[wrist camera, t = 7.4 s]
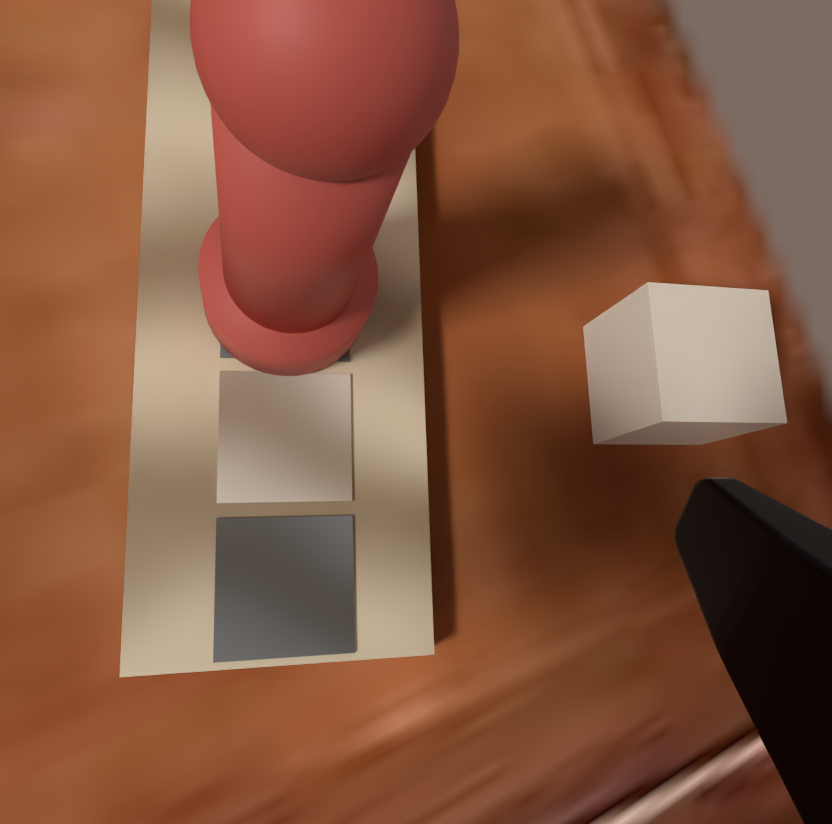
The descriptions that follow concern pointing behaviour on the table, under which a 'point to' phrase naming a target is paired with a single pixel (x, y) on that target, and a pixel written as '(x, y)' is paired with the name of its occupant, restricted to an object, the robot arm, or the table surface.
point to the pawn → (310, 161)
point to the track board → (265, 441)
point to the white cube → (683, 366)
